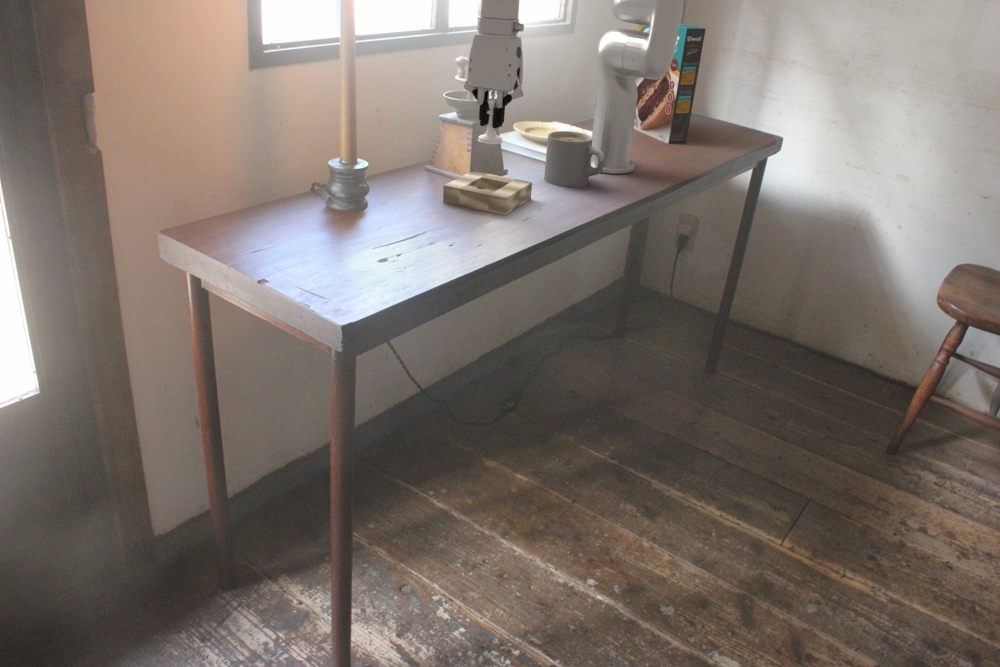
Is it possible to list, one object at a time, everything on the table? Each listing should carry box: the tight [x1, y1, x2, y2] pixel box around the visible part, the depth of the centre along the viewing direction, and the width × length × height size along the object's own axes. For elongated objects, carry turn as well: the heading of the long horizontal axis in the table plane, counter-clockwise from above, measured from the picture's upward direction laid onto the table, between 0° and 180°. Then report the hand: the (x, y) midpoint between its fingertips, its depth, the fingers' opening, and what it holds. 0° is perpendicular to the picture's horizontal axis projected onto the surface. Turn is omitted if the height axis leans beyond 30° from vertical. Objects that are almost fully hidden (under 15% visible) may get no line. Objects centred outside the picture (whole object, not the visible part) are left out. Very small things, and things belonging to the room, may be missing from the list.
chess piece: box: [477, 90, 503, 145], centre depth 156 cm, size 5×5×10 cm
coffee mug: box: [543, 130, 605, 188], centre depth 177 cm, size 13×10×10 cm
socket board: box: [442, 170, 533, 216], centre depth 163 cm, size 13×14×4 cm
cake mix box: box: [633, 22, 706, 145], centre depth 221 cm, size 22×6×30 cm, turn 25°
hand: (491, 125), depth 157 cm, fingers closed on chess piece
